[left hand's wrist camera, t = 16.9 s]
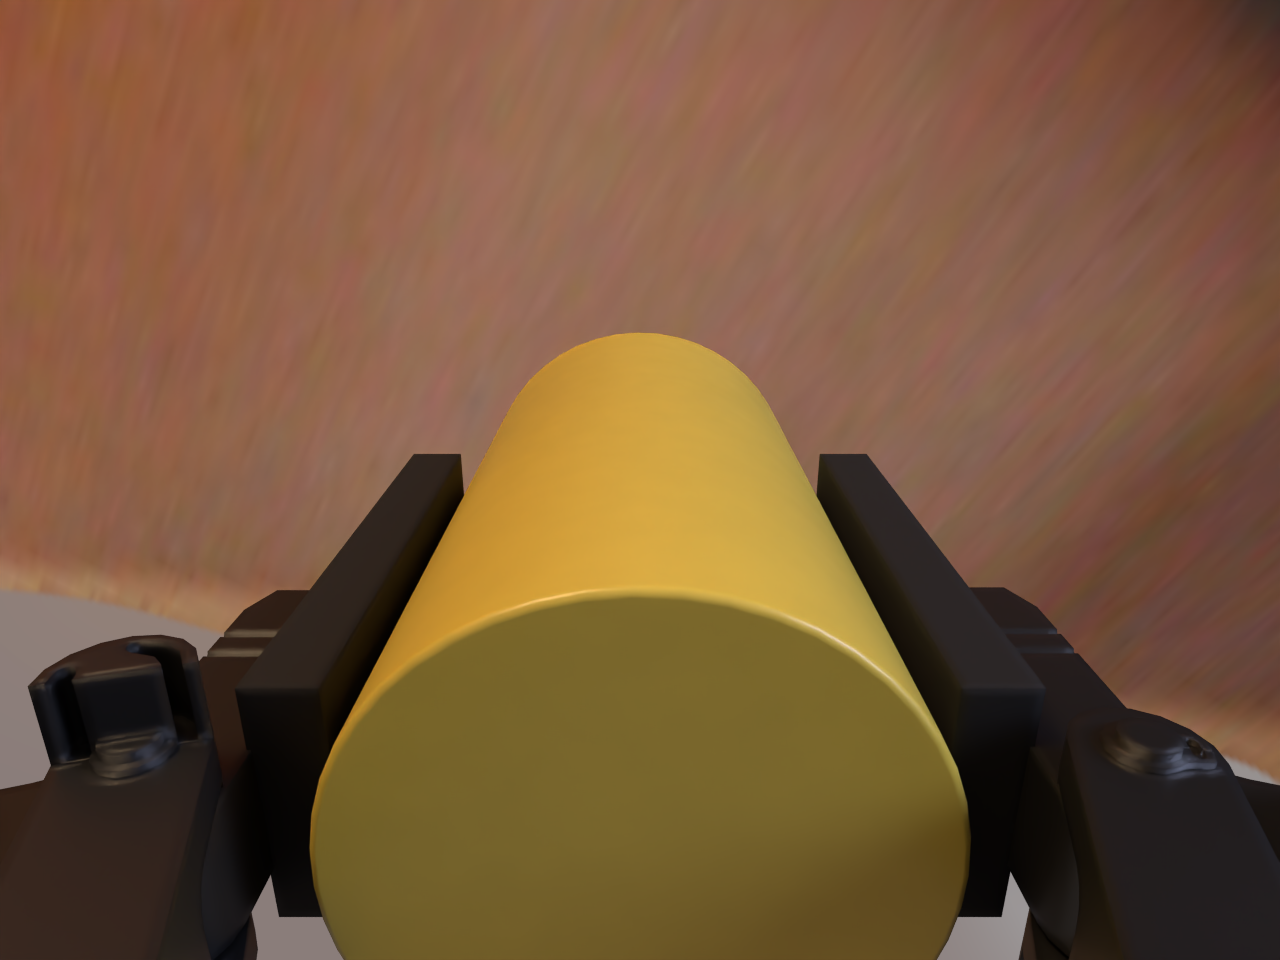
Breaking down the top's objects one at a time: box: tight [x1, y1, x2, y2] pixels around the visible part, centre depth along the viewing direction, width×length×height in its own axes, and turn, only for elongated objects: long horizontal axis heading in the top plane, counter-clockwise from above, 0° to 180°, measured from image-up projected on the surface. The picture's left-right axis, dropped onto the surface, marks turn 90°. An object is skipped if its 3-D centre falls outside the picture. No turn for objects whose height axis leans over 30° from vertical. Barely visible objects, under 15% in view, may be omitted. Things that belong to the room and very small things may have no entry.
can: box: [310, 333, 971, 960], centre depth 12 cm, size 6×6×10 cm
